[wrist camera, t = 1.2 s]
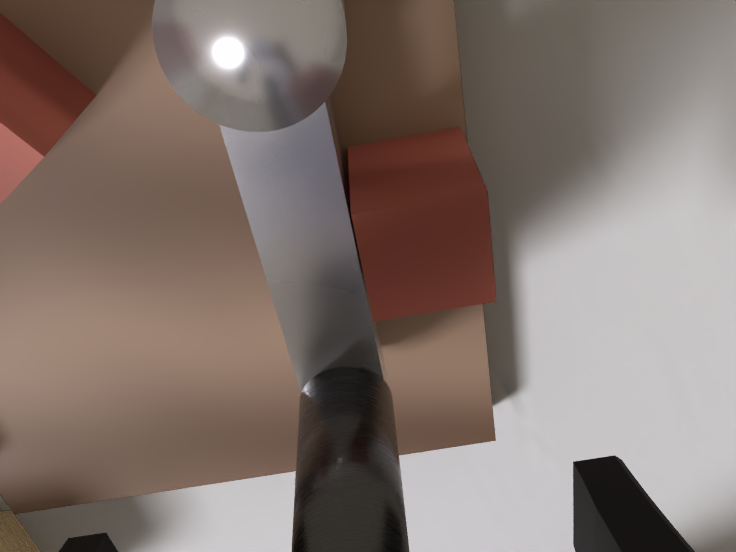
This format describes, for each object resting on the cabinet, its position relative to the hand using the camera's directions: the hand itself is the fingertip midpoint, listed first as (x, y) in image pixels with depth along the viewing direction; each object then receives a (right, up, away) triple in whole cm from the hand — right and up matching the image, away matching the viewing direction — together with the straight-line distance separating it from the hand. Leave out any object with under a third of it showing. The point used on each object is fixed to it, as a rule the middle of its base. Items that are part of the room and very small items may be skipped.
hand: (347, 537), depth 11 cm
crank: (-1, +5, +2) cm, 6 cm away
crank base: (-4, +5, +3) cm, 7 cm away
